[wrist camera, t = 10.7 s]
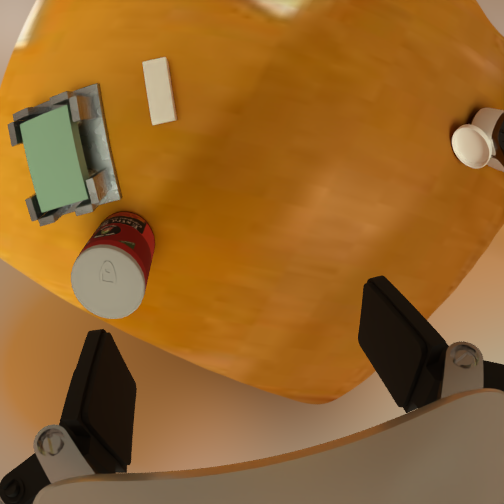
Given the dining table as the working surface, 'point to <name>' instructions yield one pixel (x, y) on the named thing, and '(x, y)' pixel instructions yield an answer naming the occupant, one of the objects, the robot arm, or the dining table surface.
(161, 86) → the block
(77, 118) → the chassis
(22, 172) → the dining table surface
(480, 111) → the spice jar
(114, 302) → the canned food
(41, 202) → the board
